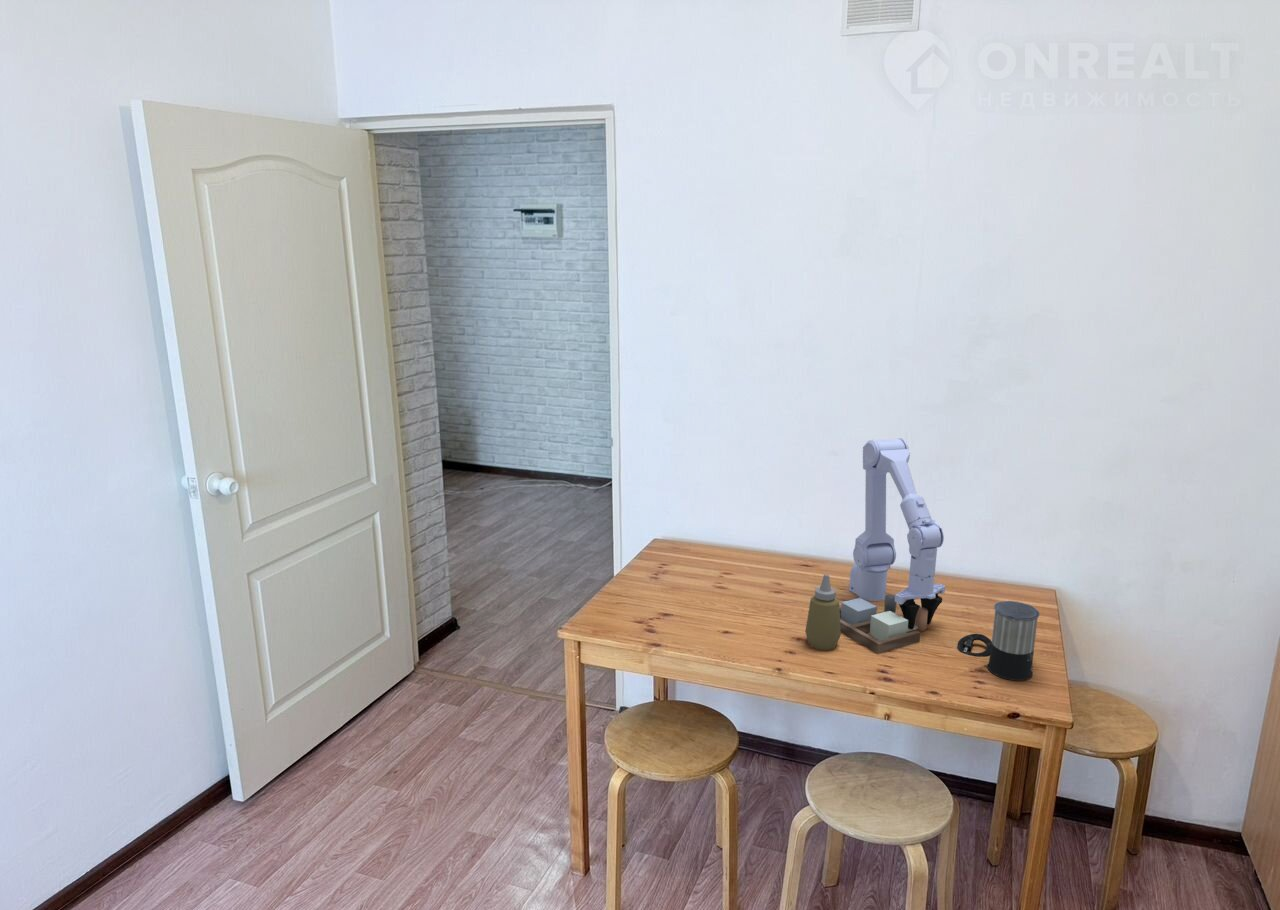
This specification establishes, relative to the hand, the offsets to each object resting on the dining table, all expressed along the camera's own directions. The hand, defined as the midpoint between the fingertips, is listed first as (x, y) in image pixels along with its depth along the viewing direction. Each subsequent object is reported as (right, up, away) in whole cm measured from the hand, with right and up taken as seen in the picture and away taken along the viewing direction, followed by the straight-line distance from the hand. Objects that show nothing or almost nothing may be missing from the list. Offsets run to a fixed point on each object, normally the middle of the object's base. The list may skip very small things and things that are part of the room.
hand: (917, 625), depth 199 cm
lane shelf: (-5, -1, +3) cm, 6 cm away
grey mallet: (-10, 0, +6) cm, 11 cm away
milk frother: (+12, -6, -14) cm, 20 cm away
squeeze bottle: (-25, -4, -7) cm, 26 cm away
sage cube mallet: (-4, -2, -2) cm, 5 cm away
